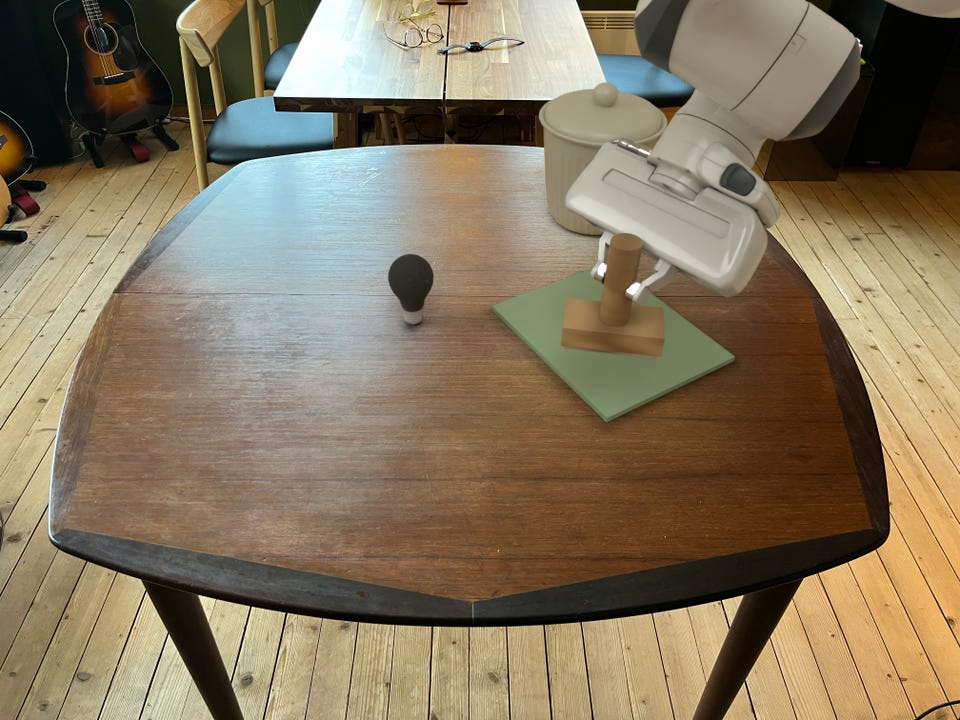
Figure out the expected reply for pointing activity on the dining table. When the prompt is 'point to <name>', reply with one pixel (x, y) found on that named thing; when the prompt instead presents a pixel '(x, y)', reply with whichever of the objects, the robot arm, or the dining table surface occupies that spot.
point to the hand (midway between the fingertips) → (614, 291)
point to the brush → (615, 310)
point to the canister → (590, 138)
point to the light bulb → (411, 284)
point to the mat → (605, 376)
